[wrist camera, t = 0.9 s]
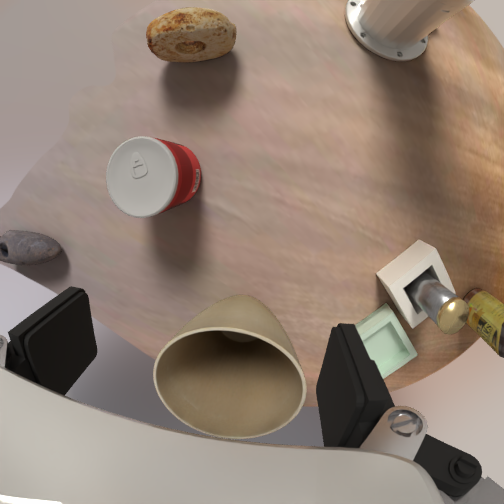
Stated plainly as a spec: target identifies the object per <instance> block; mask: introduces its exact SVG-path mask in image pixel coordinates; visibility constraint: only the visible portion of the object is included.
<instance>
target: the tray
mask: <svg viewBox="0 0 504 504" xmlns="http://www.w3.org/2000/svg"><path fill="white" fill-rule="evenodd" d="M355 326H356V329H357V331H358V333H359V335H360V337H361V339H362V341H363V344H364V346H365V348H366V350H367V352H368V355H369V357H370V359H371V360H374V361H375V363H376V365H377V367H378V369H379V371H380V373H381V376H382V378H383V379H384V378H385V377H387V376H388V375H390V374H391V373H393V372H394V371H396V370H397V369H399V368H400V367H402V366H403V365H404V364H406V363H407V362H409V361H410V360H411V359H413V358H414V357H416V356H417V355H418V354H417V352H416V351H415V349H414V347H413V345H412V343H411V342H410V340H409V338H408V336H407V335H406V333H405V331H404V329H403V328H402V326H401V324H400V323H399V321H398V319H397V317H396V316H395V314H394V312H393V311H392V310H391V308H390V307H389V306H388V305H387V303H385V304H384V305H383V306H381V307H380V308H378V309H377V310H376V311H374V312H373V313H372V314H370V315H369V316H367V317H366V318H365V319H363V320H362V321H360V322H359V323H357V324H356V325H355Z"/></svg>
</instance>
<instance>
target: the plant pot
mask: <svg viewBox="0 0 504 504" xmlns="http://www.w3.org/2000/svg"><path fill="white" fill-rule="evenodd" d="M153 378H154V384H155V388H156V391H157V393H158V395H159V397H160V399H161V400H162V402H163V403H164V405H165V406H166V407H167V409H168V410H169V411H170V412H171V413H172V414H173V415H174V416H175V417H177V418H178V419H179V420H180V421H182V422H183V423H185V424H186V425H188V426H190V427H192V428H193V429H195V430H198V431H200V432H203V433H205V434H208V435H212V436H216V437H221V438H228V439H248V438H255V437H260V436H264V435H267V434H270V433H272V432H275V431H277V430H279V429H281V428H282V427H284V426H286V425H287V424H288V423H289V422H290V421H292V420H293V419H294V418H295V416H296V415H297V414H298V413H299V411H300V410H301V408H302V406H303V404H304V401H305V398H306V380H305V376H304V373H303V370H302V368H301V365H300V363H299V360H298V358H297V355H296V353H295V350H294V348H293V346H292V343H291V341H290V339H289V337H288V336H287V334H286V332H285V330H284V329H283V327H282V325H281V324H280V322H279V321H278V320H277V318H276V317H275V316H274V314H273V313H272V312H271V311H270V310H269V309H268V308H267V307H266V306H265V305H264V304H263V303H262V302H260V301H259V300H257V299H256V298H254V297H251V296H247V295H236V296H232V297H229V298H226V299H223V300H221V301H219V302H217V303H215V304H213V305H212V306H210V307H208V308H207V309H205V310H204V311H202V312H201V313H200V314H198V315H197V316H196V317H194V318H193V319H192V320H191V321H189V322H188V323H187V324H186V325H185V326H184V327H183V328H182V329H181V330H180V331H179V332H178V333H177V334H176V335H175V336H174V337H173V338H172V339H171V340H170V341H169V342H168V343H167V344H166V345H165V346H164V348H163V349H162V350H161V351H160V353H159V355H158V356H157V358H156V361H155V365H154V371H153Z"/></svg>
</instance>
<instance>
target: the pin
mask: <svg viewBox="0 0 504 504" xmlns="http://www.w3.org/2000/svg"><path fill="white" fill-rule="evenodd" d="M403 289H404V291H405V292H406V293H407V294H408V295H409V296H410V297H411V298H412V299H413V300H414V301H415V302H416V303H417V304H418V305H419V306H420V308H421V309H422V310H423V311H424V312H425V313H426V314H427V315H428V316H429V317H430V318H431V319H432V320H433V321H434V322H435V323H436V324H437V325H438V327H439V328H440V329H441V330H442V331H443V332H444V333H445V334H454V333H456V332H458V331H459V330H460V329H461V328H462V327H463V326H464V325H465V323H466V321H467V319H468V316H469V306H468V304H467V303H466V302H465V301H463V300H462V299H461V298H459V297H458V296H456V295H455V294H454V293H453V292H451V291H450V290H449V289H448V288H446V287H445V286H444V285H442V284H441V283H440V282H438V281H437V280H436V279H435V278H433V277H432V276H431V275H429V274H428V273H427V272H425V271H424V272H423V273H421V274H420V275H419V276H418V277H417V278H415V279H414V280H413V281H412V282H410V283H409V284H408V285H407V286H405V287H404V288H403Z"/></svg>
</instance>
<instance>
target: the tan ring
mask: <svg viewBox="0 0 504 504" xmlns="http://www.w3.org/2000/svg"><path fill="white" fill-rule="evenodd" d="M146 38H147V42H148V43H147V44H148V47H149V49H150V50H151V52H152V53H154V54H155V55H156V56H157V57H158V58H160V59H161V60H165V61H169V62H197V61H203V60H208V59H213V58H217V57H220V56H223V55H224V54H226V53H228V52H229V51H230V50H231V49H232V48H233V46H234V44H235V40H236V26H235V24H233V23H231V22H230V21H229V19H228V18H227V17H226V16H224V15H223V14H222V13H220V12H218V11H215V10H212V9H205V8H196V7H187V8H182V9H177V10H174V11H171V12H168V13H166V14H164V15H162V16H160V17H158V18H156V19H155V20H153V21H152V22H151V23H150V24H149V26H148V27H147V32H146Z"/></svg>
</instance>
